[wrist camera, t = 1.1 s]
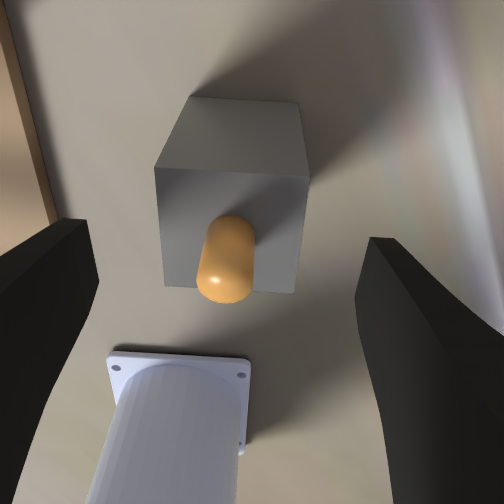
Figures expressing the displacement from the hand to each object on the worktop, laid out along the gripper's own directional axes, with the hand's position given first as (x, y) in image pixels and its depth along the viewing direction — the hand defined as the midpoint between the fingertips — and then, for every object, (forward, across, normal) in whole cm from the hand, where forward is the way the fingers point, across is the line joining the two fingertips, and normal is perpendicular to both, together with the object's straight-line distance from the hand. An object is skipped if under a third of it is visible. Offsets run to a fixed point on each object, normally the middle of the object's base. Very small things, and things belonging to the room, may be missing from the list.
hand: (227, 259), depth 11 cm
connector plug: (+7, 0, 0) cm, 7 cm away
